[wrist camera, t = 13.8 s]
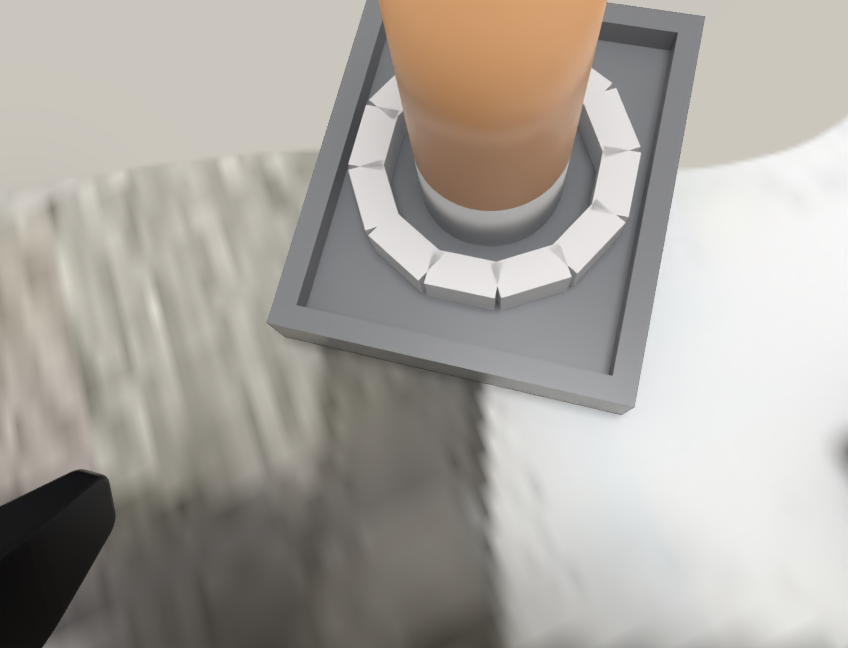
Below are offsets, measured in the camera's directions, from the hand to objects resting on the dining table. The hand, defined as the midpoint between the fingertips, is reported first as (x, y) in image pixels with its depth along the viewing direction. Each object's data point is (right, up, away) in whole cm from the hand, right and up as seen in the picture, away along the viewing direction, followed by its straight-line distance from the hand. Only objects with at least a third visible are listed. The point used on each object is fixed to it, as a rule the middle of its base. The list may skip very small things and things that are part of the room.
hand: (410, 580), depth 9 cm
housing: (+3, +8, +16) cm, 18 cm away
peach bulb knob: (+3, +9, +15) cm, 17 cm away
